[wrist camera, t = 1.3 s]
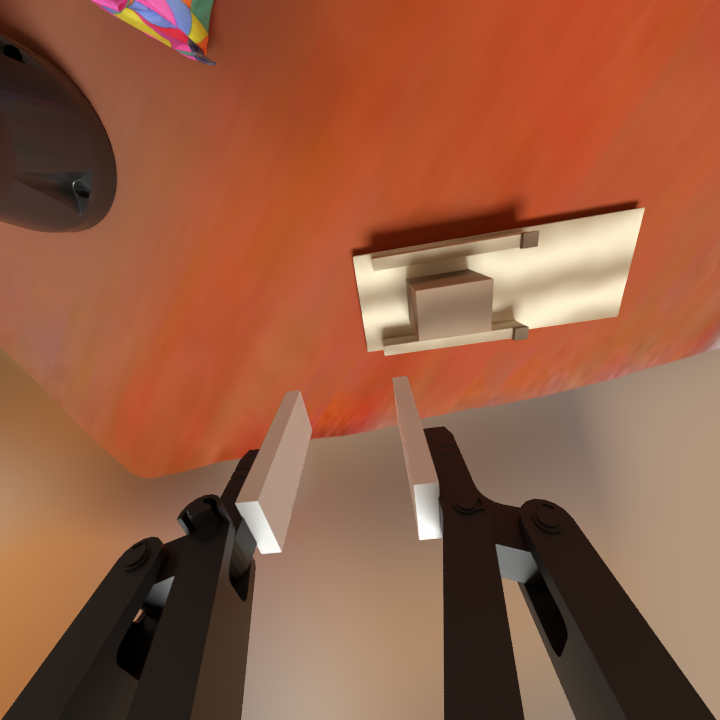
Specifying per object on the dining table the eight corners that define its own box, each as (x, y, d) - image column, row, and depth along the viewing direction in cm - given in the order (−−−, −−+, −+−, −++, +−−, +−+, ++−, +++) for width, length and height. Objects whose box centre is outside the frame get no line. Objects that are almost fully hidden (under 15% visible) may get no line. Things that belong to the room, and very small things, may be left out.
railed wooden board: (353, 256, 31) (351, 259, 27) (636, 208, 29) (676, 205, 25) (367, 348, 36) (368, 362, 32) (610, 314, 34) (641, 324, 30)
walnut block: (405, 279, 31) (415, 291, 25) (468, 269, 31) (494, 278, 25) (409, 321, 33) (419, 341, 27) (468, 312, 33) (491, 330, 27)
